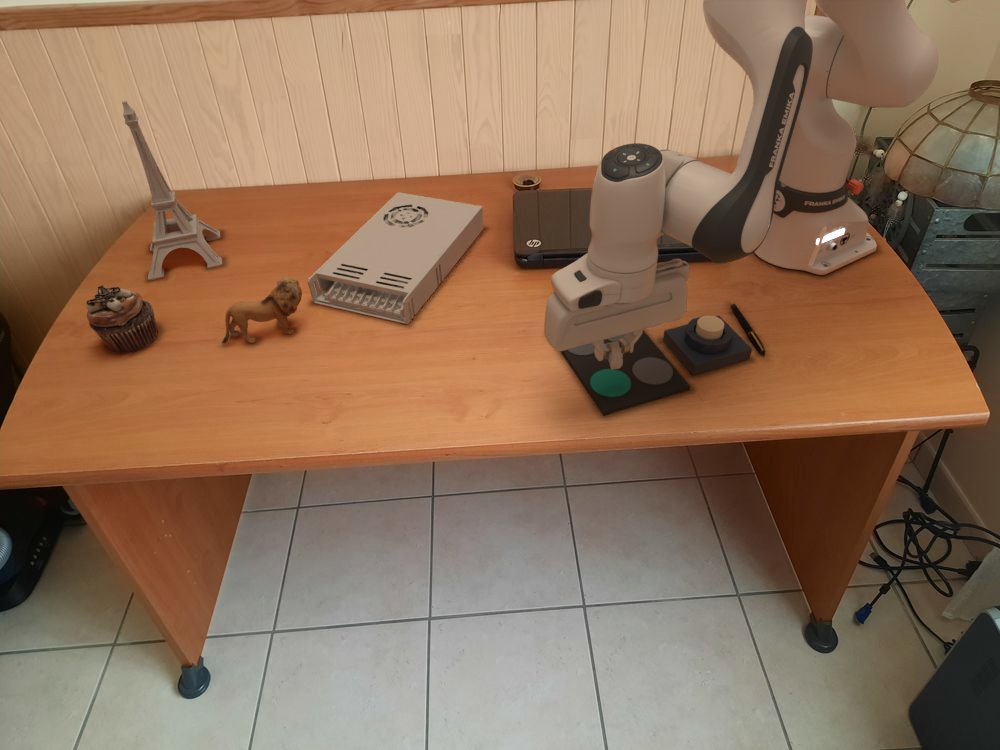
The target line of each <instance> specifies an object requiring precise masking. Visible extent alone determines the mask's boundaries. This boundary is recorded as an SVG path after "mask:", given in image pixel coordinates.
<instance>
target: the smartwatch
mask: <svg viewBox="0 0 1000 750" xmlns="http://www.w3.org/2000/svg"><path fill="white" fill-rule="evenodd" d="M606 347H607V348H608V349H609V350H610V354H609V359H608V360H609V363H610V367H611V369H619V368H621V366H622V365H623V359H622V357H623V355H622V353H621V350H620V343H619V342H611V343H607V344H606Z"/></svg>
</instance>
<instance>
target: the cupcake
mask: <svg viewBox="0 0 1000 750" xmlns="http://www.w3.org/2000/svg"><path fill="white" fill-rule="evenodd" d="M85 307H86V310H87V312H86V318H87V321H88V324H89V327H90V328H91V329H92V330H93V331H94V332H95V334H96V335H97V336H98V337H99V338H100V339H101V341H103V343H105V345H106V346H107V347H108V348H109V349H110V350H111V351H113V352H114V353H115V352H116V353H117V354H129V353H135V352H137V351H141V350H143V349H145V348H147V347H148V346H150V345H151V344H152V343H153V342H154V341H155V340H156V338H157V337H158V334H159V330H158V326H157V323H156V318H155V312H154V306H153V305H152V304H151V302H149V301H148V300H146V299H143V297H142V295H141V294H140V293H138V292H137V291H133V290H128V289H125V288H121V287H119V286H116V287H114V286H113V287H110V288H108V287H104V285H103V284H102V285H99V286H97V289H96V294H95V295H94V298H91V299H89V300H86V302H85Z"/></svg>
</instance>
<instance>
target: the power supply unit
mask: <svg viewBox="0 0 1000 750" xmlns="http://www.w3.org/2000/svg"><path fill="white" fill-rule="evenodd" d="M484 229H485V228H484V214H483V205H477V204H472V203H467V202H466V203H465V202H459V201H453V200H448V199H442V198H437V197H429V196H423V195H417V194H412V193H405V192H399V191H398V192H396V193H395V194H394V195H393V196H392V197H391V198H390V199H389V200H388V201H386V203H385V204H384V205H382V207H381V208H380V209H378V211H377V212H376V213H374V215H372V216H371V217H370V218H369V219H368V220H367V221H365V223H364V224H363V225H362V226H361V227H360V228H359V229H357V231H356V232H355V233H354V234H353V235H352V236H351V237H349V238H348V239H347V240H346V242H344V243H343V244H342V245H341V246H340V247H339V248H338V249H336V251H335V252H334V253H333V254H332V255H331V256H330V257H329V258H328V259H327V260H326V261H325V262H324V263H323V264H322V265H320V267H319V268H317V269H316V270H315V271H314V272H313V273H312V275H310V276H309V277H308V278H307V286H308V289H309V292H310V296H311V300H312V303H313V304H316V305H322V306H324V307H329V308H334V309H338V310H343V311H347V312H351V313H356V314H360V315H365V316H369V317H373V318H378V319H382V320H386V321H390V322H391V321H392V322H394V323H399V324H404V325H409V323H411V320H412V319H414V317H415V316H416V315H417V314H418V313H419V311H420V310H421V308H422V307H423V306H424V305H425V303H426V302H427V301H428V300H429V298H430V297H431V296H432V295H433V293H434V292H435V291H436V290H437V288H438V287H439V286H440V285H441V282H443V281H444V279H445V278H446V277H447V276H448V275H449V273H450V272H451V271H452V269H453V268H454V267H455V266H456V264H457V263H458V262H459V260H460V259H461V258H462V257H463V255H464V254H465V253H466V251H468V249H469V248H470V247H471V245H472V244H473V243H474V241H475V240H476V239H477V238H478V237H479V235H480V234H481V233H482V232H483V230H484Z"/></svg>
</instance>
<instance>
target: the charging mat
mask: <svg viewBox="0 0 1000 750" xmlns="http://www.w3.org/2000/svg"><path fill="white" fill-rule="evenodd" d="M644 330H645V329H643V333H642V335H641V336H640V337H639V339H638V340H637V341H636V343H635V344H634V347H633V352H631V353H628V354H624V355H623V354H622V355H623V357H622V359H623V365H622V366H621V368H619V369H611V367H610V363H609V360H608V359H606V360H603V361H598V359H597V358H596V357H595V346H594V345H593V344H592V343H590V344H586V345H583V346H579V347H575V348H571V349H568V350H564V351H560V353H561V354H562V355H563V357H564V359H565V360H566V361H567V363H568V364H569V366H570V368H571V369H572V370H573V372H574V373H575V375H576V376H577V378H578V380H579V381H580V382H581V384H582V385H583V387H584V388H585V390H586V391H587V393H588V394H589V396H590V397H591V398H592V401H593V402H594V403H595V405H596V406H597V407H598V409H599V411H600V412H601V414H602V415H603V416H608V415H610V414H615V413H617V412H621V411H624V410H627V409H631V408H634V407H638V406H641V405H644V404H648V403H651V402H654V401H658V400H661V399H665V398H668V397H672V396H674V395H678V394H681V393H684V392H688V391H690V390H691V385H690V384H689V383H688V382H687V381H686V379H685V378H684V377H683V375H681V373H680V372H679V371H678V370H677V368H675V366H674V365H673V364H672V363H671V362H670V360H669V359H668V357H666V355H665V354H664V353H663V352H662V351H661V350H660V348H659V347H658V346H657V345H656V343H655V342H654V341H653V340H652V339H651V338H650V336H649V335H648V334H647V333H646V331H644ZM625 335H626V334H623V335H620V336H616V337H612V338H609V339H605V340H604V344H605V345H606V344H607V343H611V342H619V339H621V338H624V337H625ZM621 353H622V352H621Z"/></svg>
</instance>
